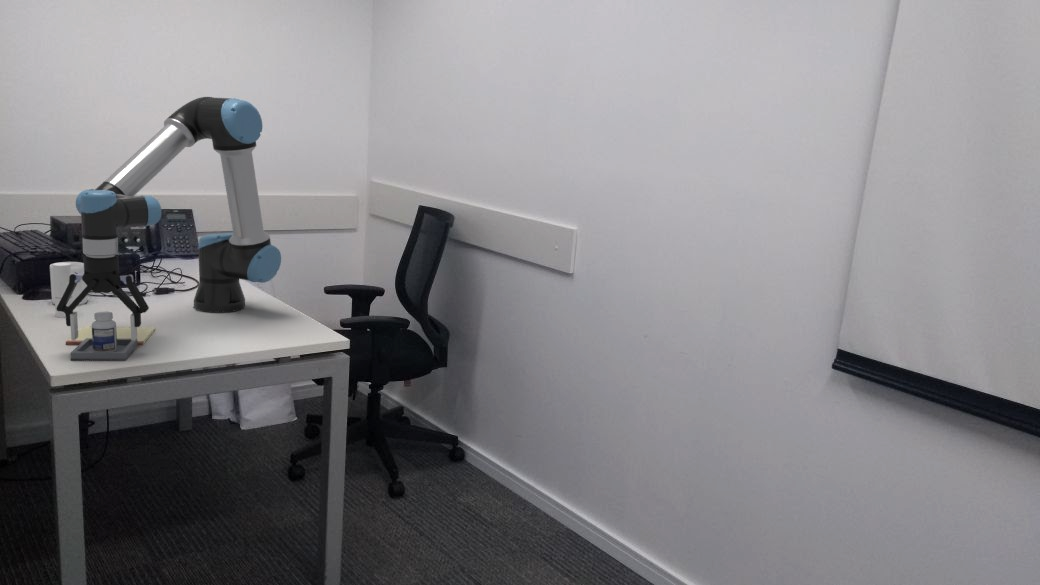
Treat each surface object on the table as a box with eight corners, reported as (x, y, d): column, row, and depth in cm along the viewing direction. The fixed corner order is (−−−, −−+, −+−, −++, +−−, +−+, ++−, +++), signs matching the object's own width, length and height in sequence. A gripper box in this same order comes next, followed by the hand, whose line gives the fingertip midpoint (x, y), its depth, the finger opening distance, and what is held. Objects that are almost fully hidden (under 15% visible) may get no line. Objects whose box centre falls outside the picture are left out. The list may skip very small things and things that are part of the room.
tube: (65, 318, 219) (62, 266, 216) (52, 316, 220) (48, 264, 216) (76, 314, 223) (73, 263, 220) (63, 312, 224) (60, 262, 221)
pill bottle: (98, 347, 196) (96, 310, 193) (120, 348, 196) (119, 311, 194) (88, 353, 190) (87, 315, 188) (111, 354, 191) (110, 316, 189)
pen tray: (137, 346, 200) (137, 338, 200) (125, 360, 189) (124, 353, 188) (86, 345, 198) (86, 338, 197) (70, 360, 186) (70, 352, 186)
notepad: (155, 330, 214) (154, 327, 214) (142, 345, 201) (142, 342, 201) (83, 329, 210) (83, 326, 210) (65, 344, 197) (65, 341, 197)
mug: (46, 306, 229) (44, 267, 227) (62, 296, 241) (60, 259, 238) (81, 307, 231) (79, 268, 229) (95, 297, 243) (93, 260, 240)
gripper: (159, 253, 194) (162, 335, 199) (49, 250, 188) (54, 334, 193) (152, 259, 187) (155, 343, 192) (37, 255, 181) (43, 342, 186)
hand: (104, 339), depth 192 cm, fingers open, 13 cm apart
